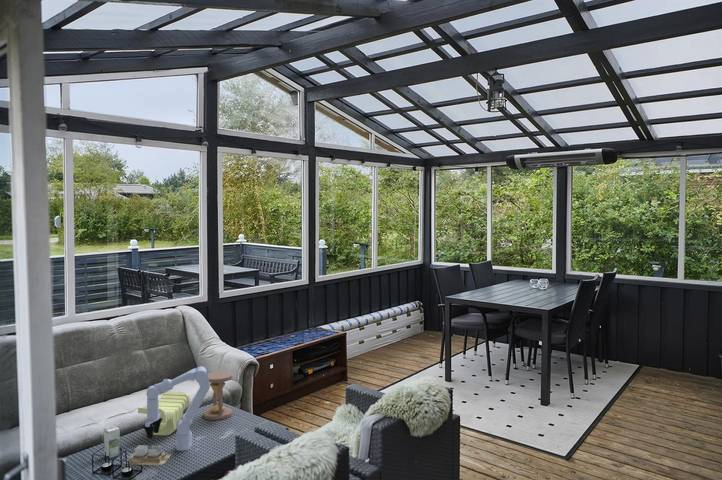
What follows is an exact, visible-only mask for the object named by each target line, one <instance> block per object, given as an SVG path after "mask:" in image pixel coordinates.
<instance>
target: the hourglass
mask: <svg viewBox="0 0 722 480" xmlns="http://www.w3.org/2000/svg"><path fill="white" fill-rule="evenodd" d="M208 375H209V384H210V388H211V389H212V392H213V394H212V401H213V402H212V403H213V404H212V406H211V407H210V408H207V409H206V410H204V411H203V415H202V416H203V418H204V419H206V420H208V421H209V420H210V421H216V420H217V421H221V420H225V419H228V418H230V417H231V416H232V415H233V409H232V408H231V407H226V405H224V401H223V395H224V390H223V389H224V388H225V386H226V382H229V381H231V380H232V379H233V374H232V373H231V372H229V371H213V372H208ZM218 397H219V398H218ZM220 419H221V420H220Z"/></svg>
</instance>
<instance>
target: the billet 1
mask: <svg viewBox="0 0 722 480" xmlns="http://www.w3.org/2000/svg"><path fill="white" fill-rule="evenodd" d="M148 449H149V448H148V445H146V444H145V445H141V444H139V445H137V446H136V447H135V448H134V453H135V457H137V458H145V457H146V456H147V455H148V452H149V450H148Z"/></svg>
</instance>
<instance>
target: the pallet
mask: <svg viewBox="0 0 722 480" xmlns="http://www.w3.org/2000/svg"><path fill="white" fill-rule="evenodd" d="M172 455H173V453H167V452H166V451H161V456H160V457H159V458H149V451H148V455H147V456H146V457H145V458H137V457H135V452H134V453H133V454H132V455H131V456H130V457H128V459H130V465H129V466H131V465H132V466H133V465H134V466H137V465H140V466H163V465H164V464H165V463H166V462H167V461H168V459H170V457H171V456H172ZM141 462H142V463H141ZM125 464H126V460H125V461H124V462H123V463H122V465H125Z"/></svg>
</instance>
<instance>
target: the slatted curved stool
mask: <svg viewBox="0 0 722 480" xmlns="http://www.w3.org/2000/svg"><path fill="white" fill-rule="evenodd" d="M158 400H159V413H160V417H159V418H162V421H161V424H160V427H159V432H158V433H154V431H153V434H154V435H155V436H156V435H157V436H169V435H171V434H172V433H174V432H175V431H177V422H178V420H179V419H181V418H182V417H183V415H184V411H185V408H186V407H188V406H190V395H189V394H188V393H187V392H186V391H170V390H169V391H167V392H165V393H163V394H161V395H160V398H158ZM137 413H138V414H145V415H147V407H138V408H137ZM145 433H146V432H145ZM145 435H147V433H146V434H145ZM154 435H153V436H154Z"/></svg>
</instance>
